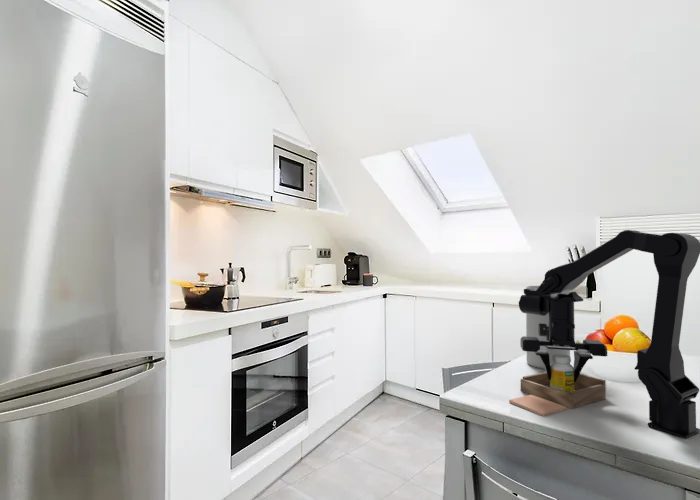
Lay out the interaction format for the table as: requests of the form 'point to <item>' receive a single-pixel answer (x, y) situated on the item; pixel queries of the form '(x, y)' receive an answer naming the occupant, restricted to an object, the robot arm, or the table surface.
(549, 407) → the terracotta tile
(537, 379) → the brown wooden tray
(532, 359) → the cylinder vase
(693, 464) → the table surface
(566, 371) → the supplement bottle
